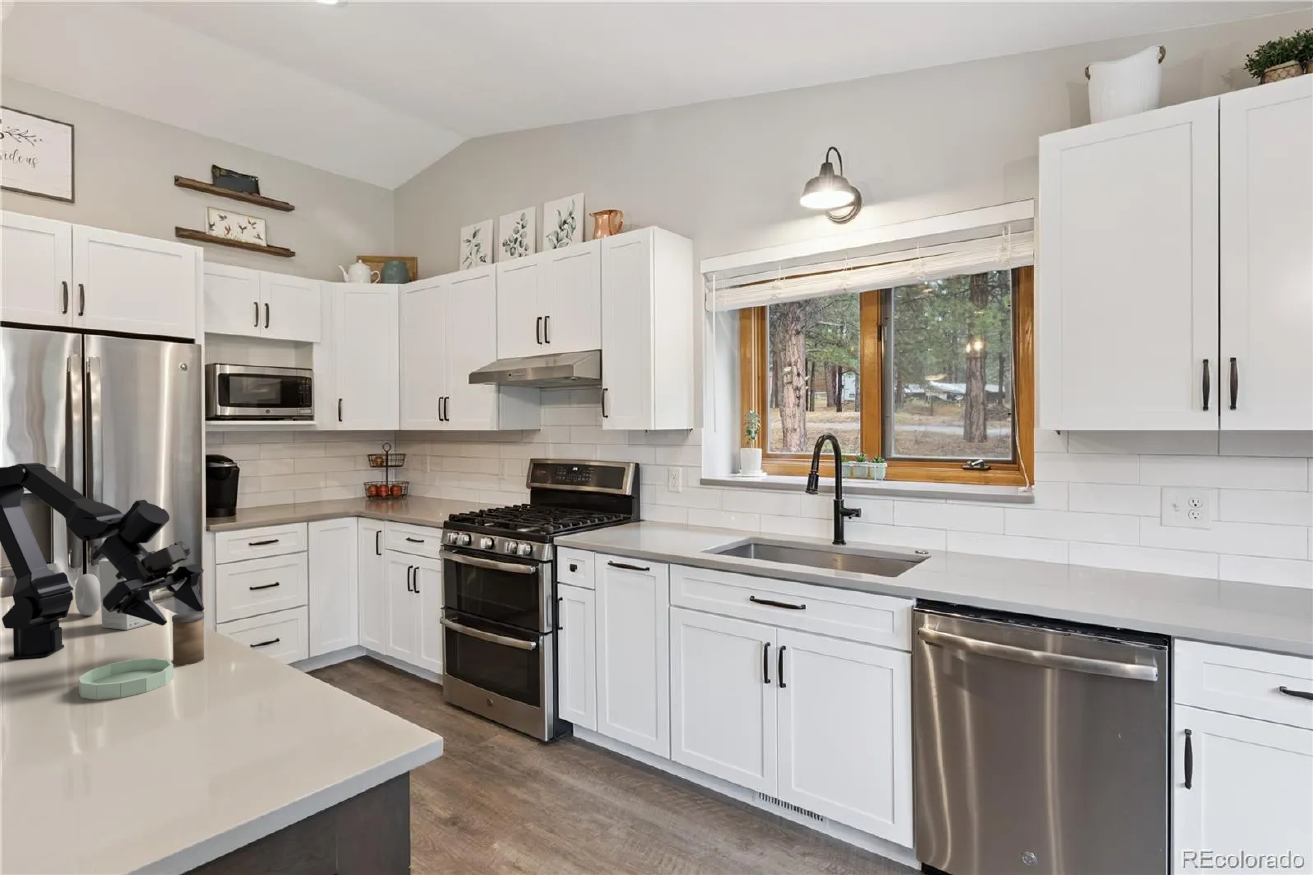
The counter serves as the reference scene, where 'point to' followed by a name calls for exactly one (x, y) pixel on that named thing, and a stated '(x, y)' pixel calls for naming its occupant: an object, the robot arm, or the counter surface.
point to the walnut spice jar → (188, 637)
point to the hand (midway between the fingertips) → (184, 617)
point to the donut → (88, 594)
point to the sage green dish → (125, 678)
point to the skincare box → (113, 618)
